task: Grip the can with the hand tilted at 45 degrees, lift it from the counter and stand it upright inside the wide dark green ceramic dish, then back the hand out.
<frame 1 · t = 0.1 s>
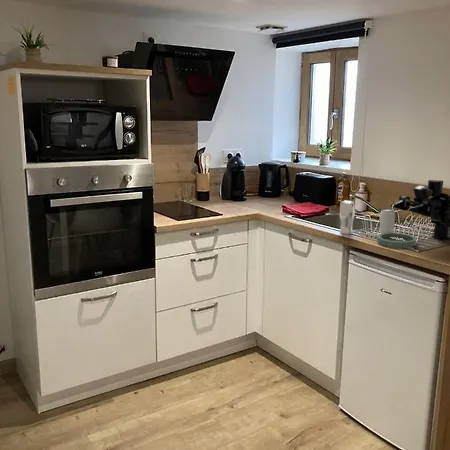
hand: (401, 207, 216), 17 cm above the worktop, tool horizontal, fingers open, 9 cm apart
dish: (396, 242, 223), on the worktop
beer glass: (346, 233, 242), on the worktop
can: (386, 235, 237), on the worktop
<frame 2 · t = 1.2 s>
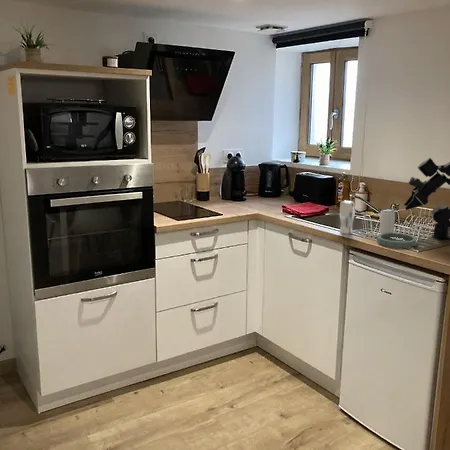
hand: (405, 207, 231), 14 cm above the worktop, tool tilted 45°, fingers open, 9 cm apart
nothing on the worktop moved.
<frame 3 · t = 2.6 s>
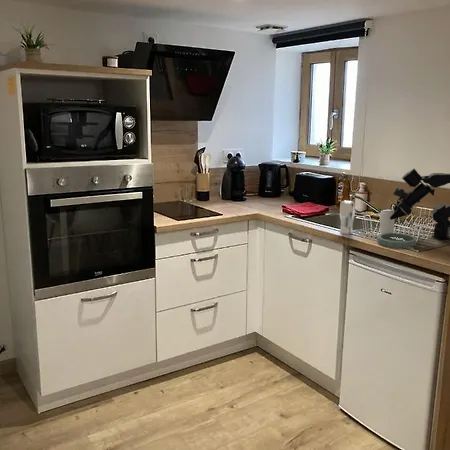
hand: (390, 216, 234), 9 cm above the worktop, tool tilted 45°, fingers open, 9 cm apart
nothing on the worktop moved.
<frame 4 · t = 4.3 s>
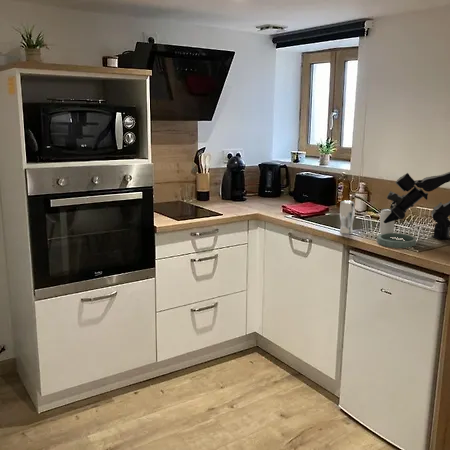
hand: (384, 220, 235), 7 cm above the worktop, tool tilted 45°, fingers closed on can, 6 cm apart
can: (386, 235, 237), on the worktop, touching gripper
everything else where it was.
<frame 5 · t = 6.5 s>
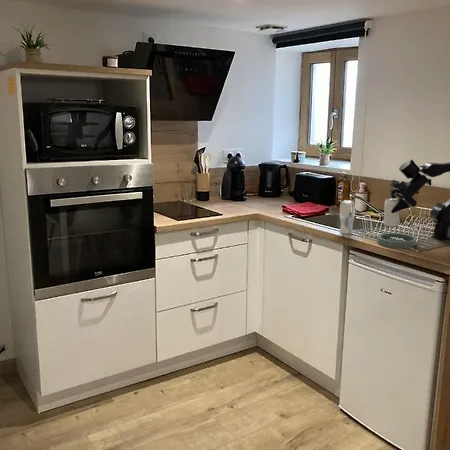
hand: (388, 210, 225), 13 cm above the worktop, tool tilted 45°, fingers closed on can, 6 cm apart
can: (390, 225, 227), point 6 cm above the worktop, touching gripper
everything else where it was.
when the fingers open (8 cm above the worktop, at t = 9.1 s): can drops 1 cm, resting on dish.
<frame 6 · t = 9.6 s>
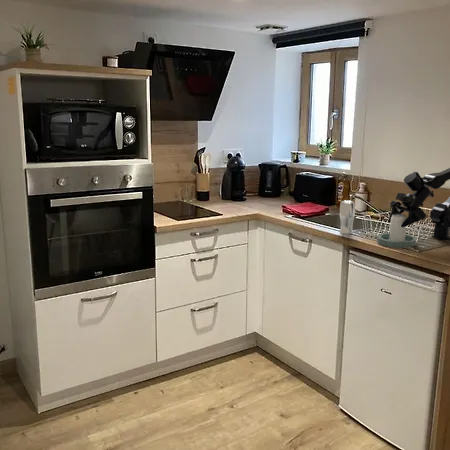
hand: (395, 224, 220), 9 cm above the worktop, tool tilted 45°, fingers open, 9 cm apart
can: (397, 242, 223), resting on dish
everything else where it was.
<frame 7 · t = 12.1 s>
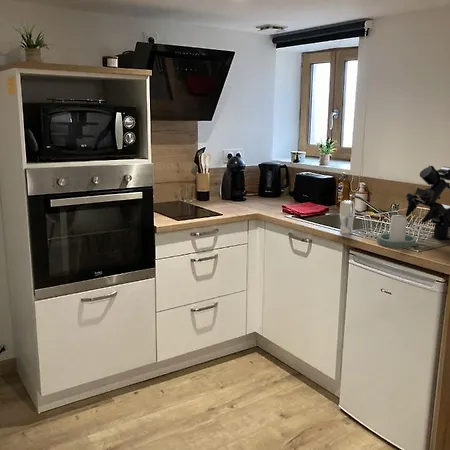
hand: (414, 219, 223), 10 cm above the worktop, tool tilted 40°, fingers open, 9 cm apart
nothing on the worktop moved.
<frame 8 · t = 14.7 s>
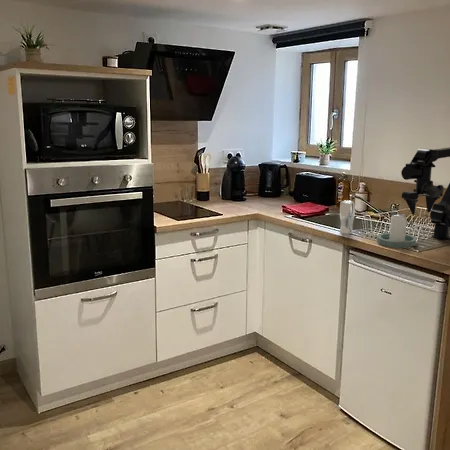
hand: (420, 213, 221), 13 cm above the worktop, tool pointing down, fingers open, 9 cm apart
nothing on the worktop moved.
at the end: can inside the target area on the dish (0.2 cm from its centre), point 0.4 cm above the dish's base; can tilted 0°; the gripper is holding nothing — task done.
